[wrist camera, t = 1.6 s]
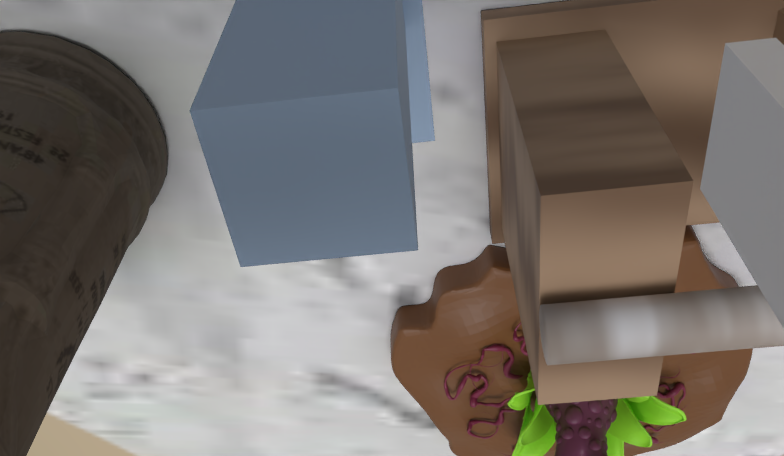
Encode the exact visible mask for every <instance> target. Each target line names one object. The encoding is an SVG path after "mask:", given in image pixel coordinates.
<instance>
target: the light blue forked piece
mask: <svg viewBox="0 0 784 456" xmlns="http://www.w3.org/2000/svg"><path fill="white" fill-rule="evenodd" d="M190 113H191V116H192V119H193V123H194V126H195V129H196V132H197V135H198V138H199V141H200V144H201V147H202V150H203V153H204V156H205V159H206V162H207V165H208V168H209V171H210V175H211V178H212V181H213V184H214V187H215V190H216V193H217V196H218V199H219V202H220V205H221V208H222V211H223V214H224V217H225V220H226V223H227V226H228V230H229V233H230V236H231V239H232V242H233V245H234V248H235V251H236V254H237V257H238V260H239V263H240V266H241V267H246V266H257V265H267V264H278V263H288V262H299V261H309V260H320V259H330V258H341V257H352V256H362V255H373V254H383V253H394V252H404V251H415V250H418V240H417V223H416V205H415V188H414V171H413V153H412V143H417V142H426V141H435V136H434V126H433V115H432V104H431V93H430V83H429V72H428V61H427V50H426V40H425V29H424V18H423V7H422V0H236V2H235V4H234V6H233V9H232V11H231V14H230V16H229V18H228V21H227V23H226V25H225V28H224V30H223V33H222V35H221V37H220V40H219V42H218V44H217V47H216V49H215V52H214V54H213V56H212V59H211V61H210V64H209V66H208V68H207V71H206V73H205V75H204V78H203V80H202V83H201V85H200V87H199V90H198V92H197V95H196V97H195V99H194V102H193V104H192V106H191V109H190Z"/></svg>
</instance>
